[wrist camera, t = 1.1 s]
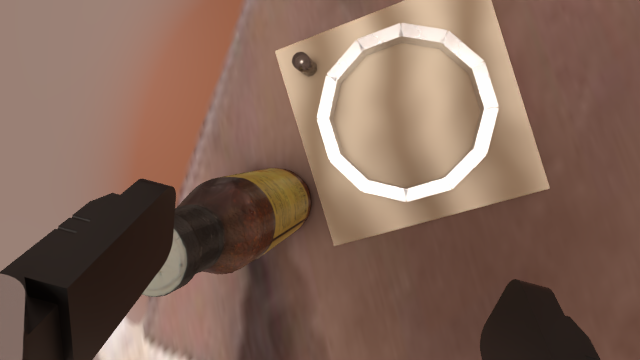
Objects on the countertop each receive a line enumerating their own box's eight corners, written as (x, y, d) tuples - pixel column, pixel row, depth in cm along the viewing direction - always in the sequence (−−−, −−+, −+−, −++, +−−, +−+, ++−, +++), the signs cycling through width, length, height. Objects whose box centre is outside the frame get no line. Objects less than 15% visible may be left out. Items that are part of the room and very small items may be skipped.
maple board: (479, -24, 34) (481, -30, 33) (545, 187, 34) (549, 188, 33) (279, 54, 38) (274, 51, 37) (336, 243, 38) (334, 246, 37)
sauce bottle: (267, 155, 39) (125, 154, 20) (325, 188, 38) (235, 219, 19) (237, 216, 40) (73, 271, 21) (293, 249, 39) (175, 340, 20)
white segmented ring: (460, 2, 34) (465, -13, 31) (512, 169, 34) (522, 171, 31) (299, 63, 37) (289, 55, 34) (346, 216, 37) (340, 221, 34)
